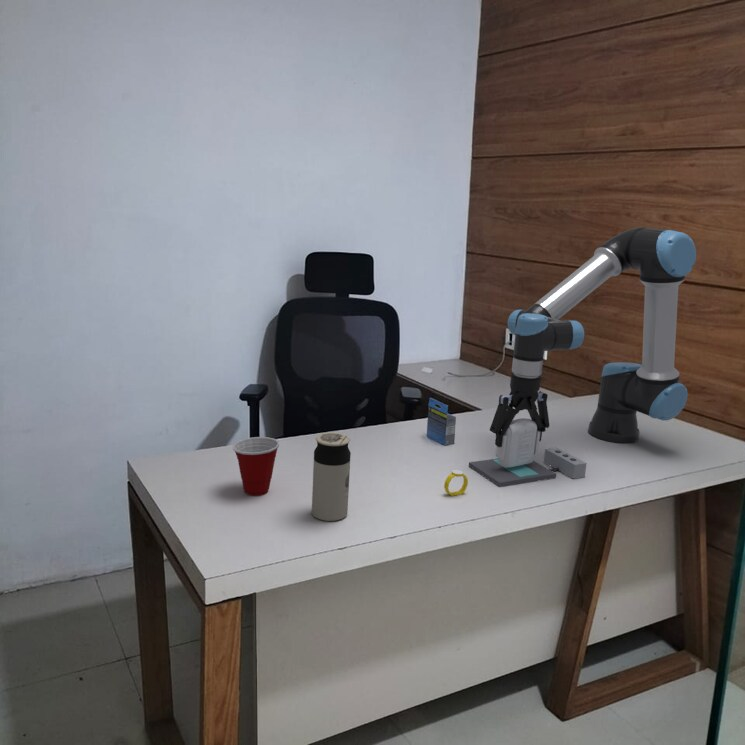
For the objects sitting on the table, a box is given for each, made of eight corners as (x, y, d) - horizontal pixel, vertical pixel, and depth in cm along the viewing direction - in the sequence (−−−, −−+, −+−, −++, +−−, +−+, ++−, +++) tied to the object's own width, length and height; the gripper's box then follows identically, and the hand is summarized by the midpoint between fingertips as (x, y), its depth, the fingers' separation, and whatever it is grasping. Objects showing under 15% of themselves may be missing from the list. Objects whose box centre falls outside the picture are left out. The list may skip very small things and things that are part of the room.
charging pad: (522, 458, 198) (523, 454, 198) (555, 478, 186) (556, 473, 186) (468, 466, 190) (469, 461, 190) (499, 487, 178) (499, 481, 178)
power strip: (554, 460, 198) (556, 446, 197) (584, 477, 188) (586, 462, 187) (529, 464, 194) (530, 450, 193) (558, 481, 184) (560, 466, 183)
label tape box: (454, 444, 207) (458, 403, 204) (444, 446, 204) (447, 405, 201) (435, 434, 214) (439, 395, 211) (425, 436, 211) (428, 397, 208)
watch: (461, 491, 175) (465, 468, 174) (467, 495, 173) (471, 473, 172) (441, 493, 172) (444, 470, 171) (447, 498, 170) (451, 474, 169)
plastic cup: (237, 480, 173) (237, 433, 170) (281, 482, 173) (282, 436, 170) (227, 499, 163) (227, 449, 160) (274, 502, 163) (275, 453, 160)
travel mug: (305, 517, 156) (308, 440, 152) (320, 503, 163) (323, 429, 159) (338, 525, 154) (342, 447, 149) (352, 510, 161) (356, 435, 156)
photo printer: (523, 457, 193) (528, 414, 190) (535, 463, 189) (540, 419, 186) (495, 464, 187) (500, 419, 184) (507, 469, 184) (512, 424, 180)
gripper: (551, 368, 190) (542, 446, 196) (480, 373, 180) (472, 455, 186) (570, 375, 184) (560, 455, 189) (498, 381, 174) (489, 465, 179)
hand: (516, 455), depth 188 cm, fingers closed on photo printer, 10 cm apart
